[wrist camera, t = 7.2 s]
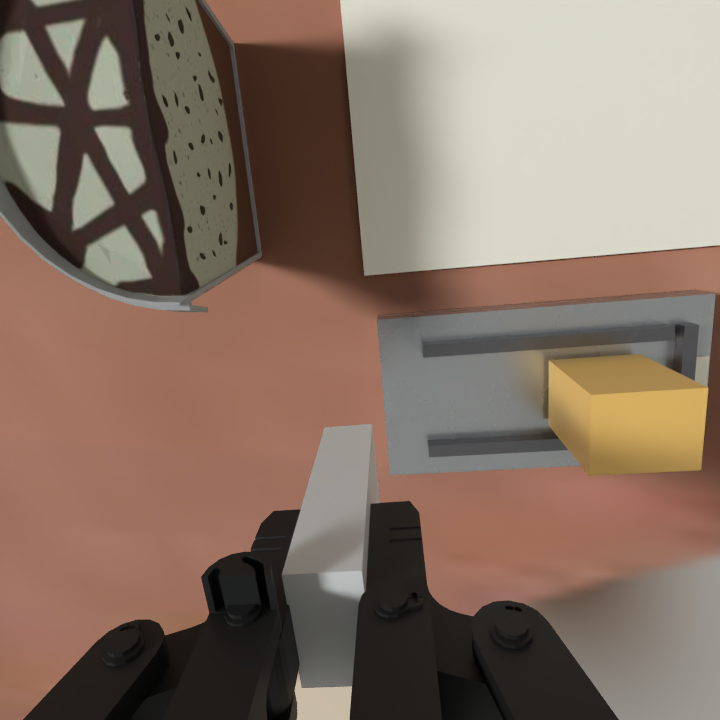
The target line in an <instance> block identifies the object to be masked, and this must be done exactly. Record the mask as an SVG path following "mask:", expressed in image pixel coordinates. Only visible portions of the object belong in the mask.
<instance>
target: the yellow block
mask: <svg viewBox="0 0 720 720" xmlns="http://www.w3.org/2000/svg"><path fill="white" fill-rule="evenodd" d="M707 398H708V387H706V386H704V385H702V384H700V383H698V382H696V381H694V380H692V379H690V378H688V377H686V376H684V375H682V374H680V373H678V372H676V371H674V370H671V369H669V368H667V367H665V366H663V365H661V364H659V363H657V362H655V361H653V360H651V359H649V358H647V357H645V356H643V355H641V354H630V355H615V356H601V357H586V358H571V359H557V360H549V404H548V425H549V427H550V428H551V429H552V430H553V431H554V433H555V434H556V435H557V436H558V438H559V439H560V440H561V441H562V443H563V444H564V445H565V446H566V448H567V449H568V450H569V451H570V453H571V454H572V455H573V456H574V458H575V459H576V460H577V461H578V463H579V464H580V465H581V466H582V468H583V469H584V470H585V471H586V473H587V474H588V475H589V476H591V475H612V474H633V473H654V472H675V471H696V470H701V465H702V454H703V443H704V431H705V420H706V409H707Z"/></svg>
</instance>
